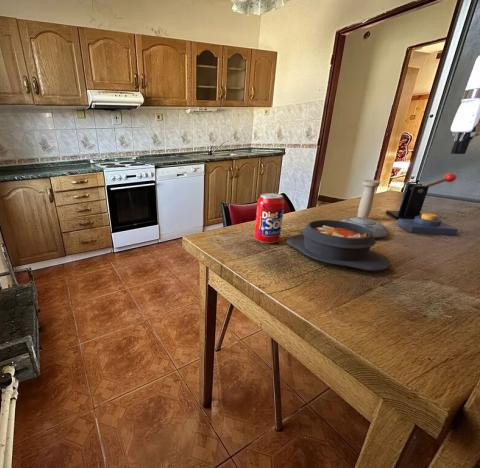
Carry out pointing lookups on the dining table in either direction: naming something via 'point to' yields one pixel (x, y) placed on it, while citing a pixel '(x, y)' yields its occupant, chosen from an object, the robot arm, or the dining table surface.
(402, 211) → the bracket
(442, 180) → the lever
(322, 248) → the casserole
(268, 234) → the soda can
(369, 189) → the handle
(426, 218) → the button
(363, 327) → the dining table surface
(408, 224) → the button box
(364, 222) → the flying saucer
